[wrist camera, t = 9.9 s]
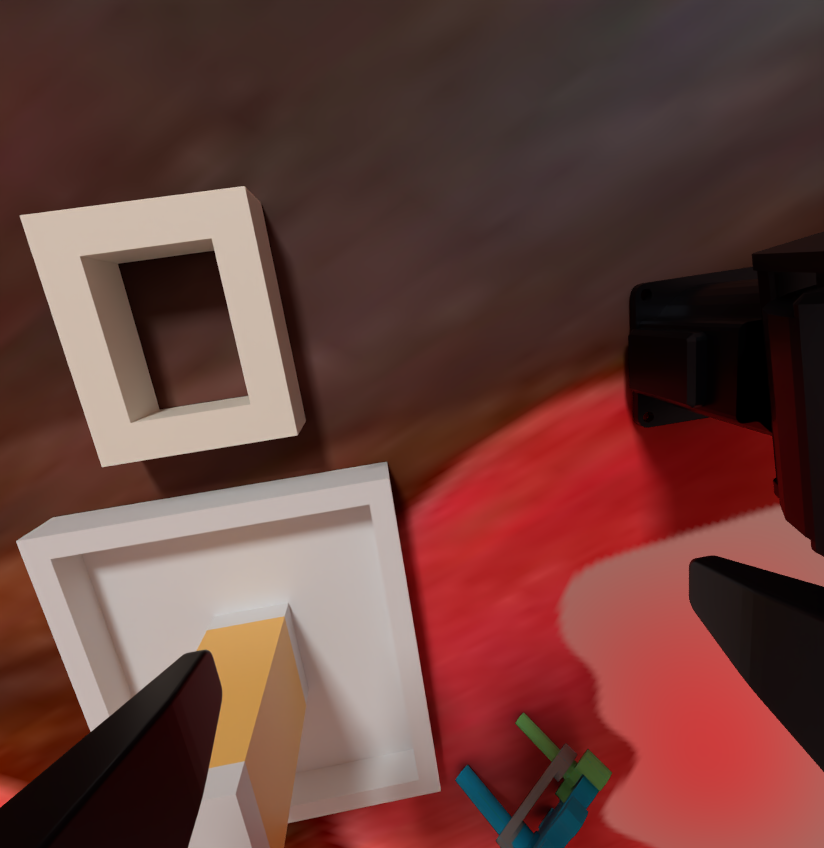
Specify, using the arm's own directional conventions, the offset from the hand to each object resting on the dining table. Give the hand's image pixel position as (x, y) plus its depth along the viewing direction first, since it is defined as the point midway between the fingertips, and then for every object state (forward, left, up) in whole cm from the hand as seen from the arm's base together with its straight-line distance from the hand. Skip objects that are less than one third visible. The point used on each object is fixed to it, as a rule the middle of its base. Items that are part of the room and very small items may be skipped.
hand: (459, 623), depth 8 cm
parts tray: (+8, +9, -13) cm, 18 cm away
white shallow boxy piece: (+8, -6, -13) cm, 16 cm away
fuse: (+8, +9, -12) cm, 18 cm away
